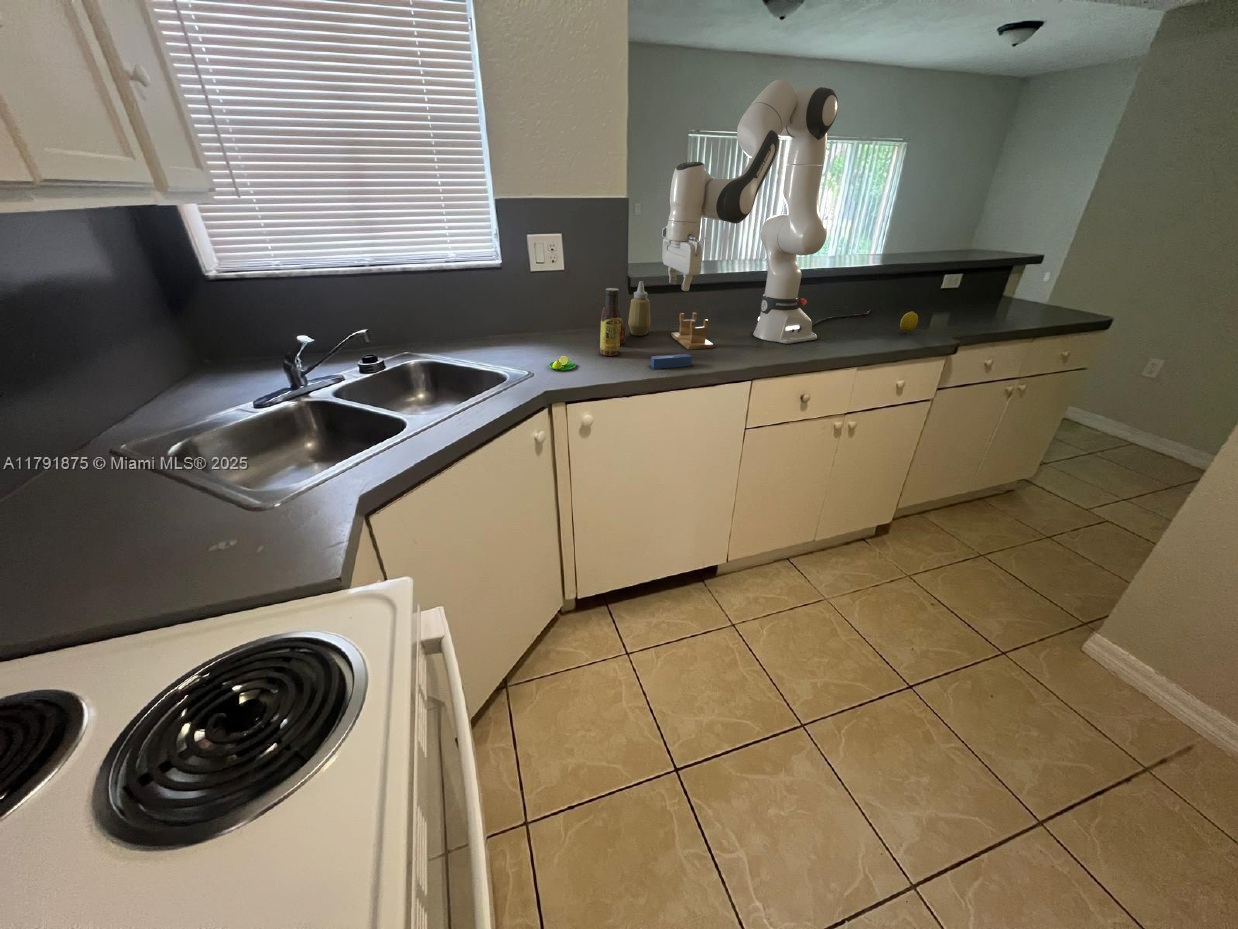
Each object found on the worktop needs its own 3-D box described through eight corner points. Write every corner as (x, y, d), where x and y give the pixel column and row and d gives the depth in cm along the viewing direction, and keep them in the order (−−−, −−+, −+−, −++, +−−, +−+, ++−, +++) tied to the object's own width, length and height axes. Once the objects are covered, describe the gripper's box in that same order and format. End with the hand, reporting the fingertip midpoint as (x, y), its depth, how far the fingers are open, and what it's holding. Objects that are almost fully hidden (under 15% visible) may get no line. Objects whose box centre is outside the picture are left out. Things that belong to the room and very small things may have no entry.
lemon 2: (555, 361, 148) (555, 352, 146) (579, 364, 146) (579, 355, 144) (544, 369, 141) (543, 360, 140) (569, 373, 139) (569, 363, 138)
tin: (603, 335, 172) (603, 311, 168) (611, 334, 173) (612, 310, 169) (617, 348, 160) (618, 322, 156) (626, 347, 161) (627, 321, 157)
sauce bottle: (605, 358, 151) (605, 291, 141) (596, 352, 156) (596, 287, 146) (623, 355, 154) (625, 290, 144) (614, 349, 159) (615, 286, 148)
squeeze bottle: (650, 331, 178) (653, 279, 169) (649, 337, 171) (652, 284, 162) (628, 330, 179) (630, 278, 170) (626, 336, 172) (628, 283, 163)
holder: (671, 336, 174) (672, 311, 169) (694, 334, 176) (696, 310, 171) (688, 349, 160) (690, 323, 156) (713, 347, 163) (716, 321, 158)
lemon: (914, 332, 184) (921, 310, 180) (913, 335, 180) (920, 313, 176) (898, 329, 187) (905, 308, 183) (896, 333, 183) (903, 311, 179)
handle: (687, 363, 149) (688, 353, 147) (690, 366, 146) (691, 356, 145) (650, 366, 146) (651, 356, 144) (653, 368, 144) (654, 359, 142)
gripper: (710, 237, 122) (704, 294, 129) (680, 229, 139) (676, 280, 146) (687, 237, 120) (682, 294, 127) (660, 229, 137) (656, 280, 144)
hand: (678, 287), depth 137 cm, fingers open, 8 cm apart
